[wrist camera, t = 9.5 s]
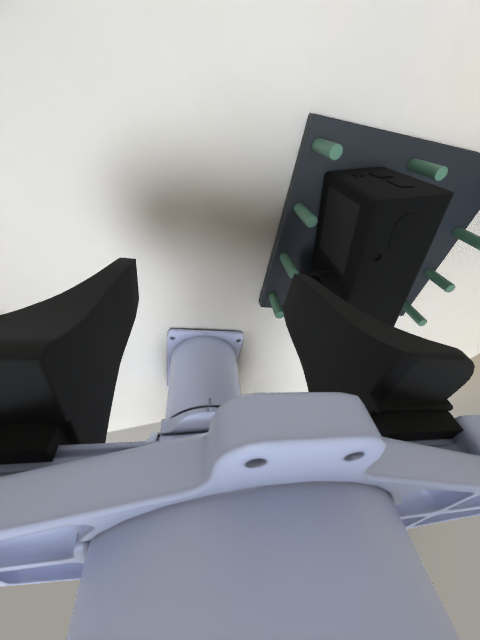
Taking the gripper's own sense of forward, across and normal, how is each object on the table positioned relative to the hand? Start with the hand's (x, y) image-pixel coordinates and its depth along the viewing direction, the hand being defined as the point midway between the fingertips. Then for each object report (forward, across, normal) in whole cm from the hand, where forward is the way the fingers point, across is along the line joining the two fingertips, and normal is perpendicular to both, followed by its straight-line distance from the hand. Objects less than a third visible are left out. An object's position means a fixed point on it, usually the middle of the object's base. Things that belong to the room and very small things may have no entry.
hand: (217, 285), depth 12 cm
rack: (+10, -14, 0) cm, 17 cm away
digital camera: (+10, -10, 0) cm, 14 cm away
